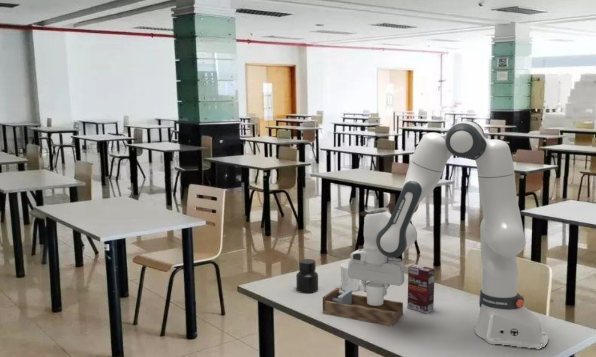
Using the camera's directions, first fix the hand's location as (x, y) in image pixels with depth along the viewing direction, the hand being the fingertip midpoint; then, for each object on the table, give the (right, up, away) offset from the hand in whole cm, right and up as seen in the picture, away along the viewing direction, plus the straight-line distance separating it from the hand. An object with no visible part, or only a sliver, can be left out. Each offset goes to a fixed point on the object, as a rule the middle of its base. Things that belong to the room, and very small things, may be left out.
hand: (375, 293), depth 207 cm
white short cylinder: (0, -4, 0) cm, 4 cm away
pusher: (-12, -6, +8) cm, 16 cm away
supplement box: (+17, -8, +8) cm, 21 cm away
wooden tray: (-4, -8, +4) cm, 10 cm away
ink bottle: (-24, -5, +30) cm, 39 cm away
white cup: (-6, -4, +31) cm, 32 cm away
